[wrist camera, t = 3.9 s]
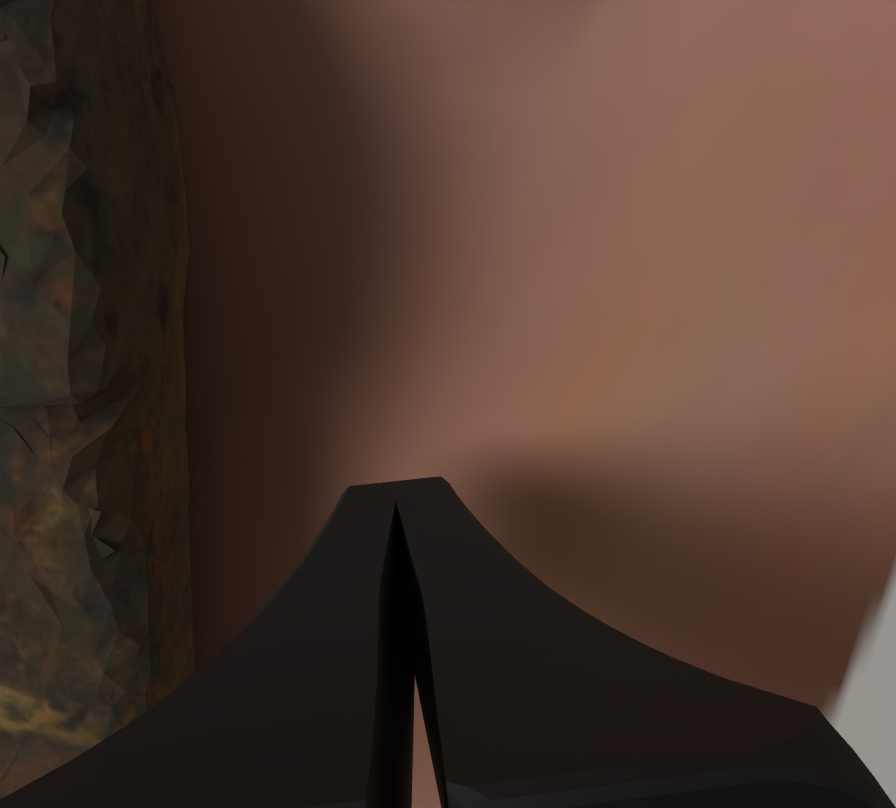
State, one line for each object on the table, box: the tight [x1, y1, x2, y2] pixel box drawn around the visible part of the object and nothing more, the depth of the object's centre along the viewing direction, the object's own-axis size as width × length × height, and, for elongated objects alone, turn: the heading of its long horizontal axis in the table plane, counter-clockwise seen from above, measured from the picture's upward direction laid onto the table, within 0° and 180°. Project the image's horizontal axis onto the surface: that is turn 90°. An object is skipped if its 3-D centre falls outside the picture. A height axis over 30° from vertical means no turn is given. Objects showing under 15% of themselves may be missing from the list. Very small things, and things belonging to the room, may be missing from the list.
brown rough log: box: [0, 0, 197, 799], centre depth 11 cm, size 19×4×5 cm, turn 171°
